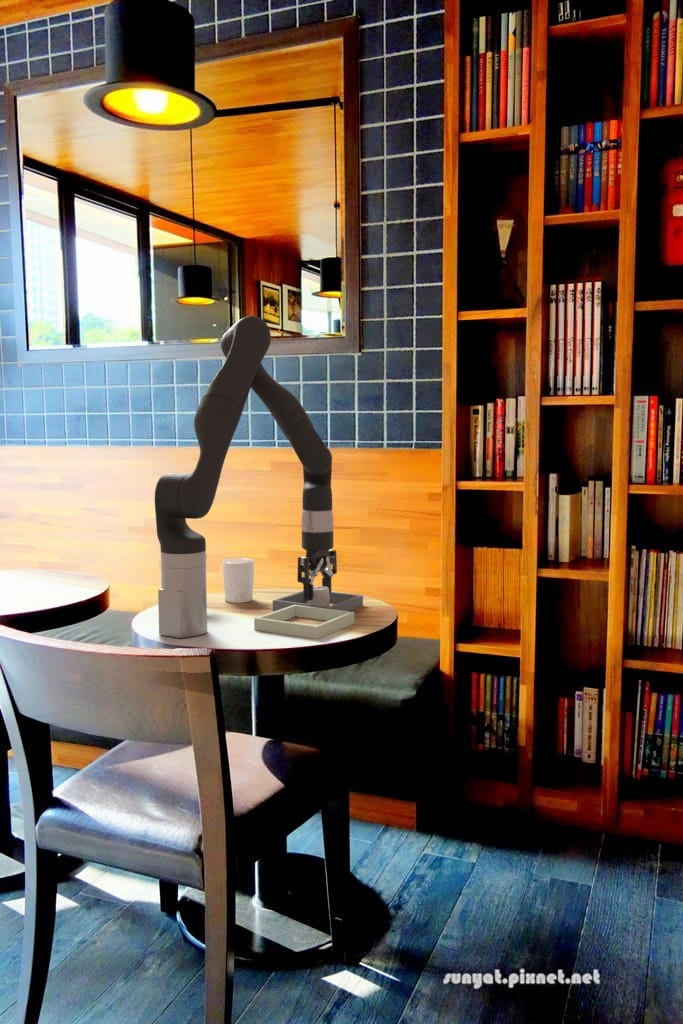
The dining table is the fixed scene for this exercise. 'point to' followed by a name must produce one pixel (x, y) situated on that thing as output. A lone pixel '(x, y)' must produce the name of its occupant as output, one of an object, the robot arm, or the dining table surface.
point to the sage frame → (278, 625)
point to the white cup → (238, 579)
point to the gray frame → (342, 599)
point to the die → (320, 596)
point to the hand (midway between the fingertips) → (317, 596)
